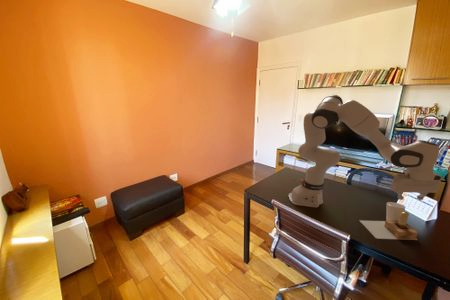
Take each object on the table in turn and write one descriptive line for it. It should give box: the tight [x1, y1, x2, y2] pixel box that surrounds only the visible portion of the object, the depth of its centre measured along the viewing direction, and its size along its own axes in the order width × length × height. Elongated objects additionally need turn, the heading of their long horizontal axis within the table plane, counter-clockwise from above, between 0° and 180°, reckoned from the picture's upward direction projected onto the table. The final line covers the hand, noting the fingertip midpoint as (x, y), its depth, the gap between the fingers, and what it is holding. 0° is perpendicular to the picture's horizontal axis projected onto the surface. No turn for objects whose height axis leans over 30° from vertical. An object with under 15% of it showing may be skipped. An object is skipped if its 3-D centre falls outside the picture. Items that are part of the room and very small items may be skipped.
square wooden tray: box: [384, 220, 419, 240], centre depth 99 cm, size 9×9×4 cm
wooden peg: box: [397, 211, 410, 229], centre depth 98 cm, size 3×3×12 cm
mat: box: [359, 219, 418, 241], centre depth 102 cm, size 20×14×1 cm
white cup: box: [385, 201, 406, 221], centre depth 107 cm, size 8×8×10 cm
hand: (409, 199), depth 95 cm, fingers open, 8 cm apart
